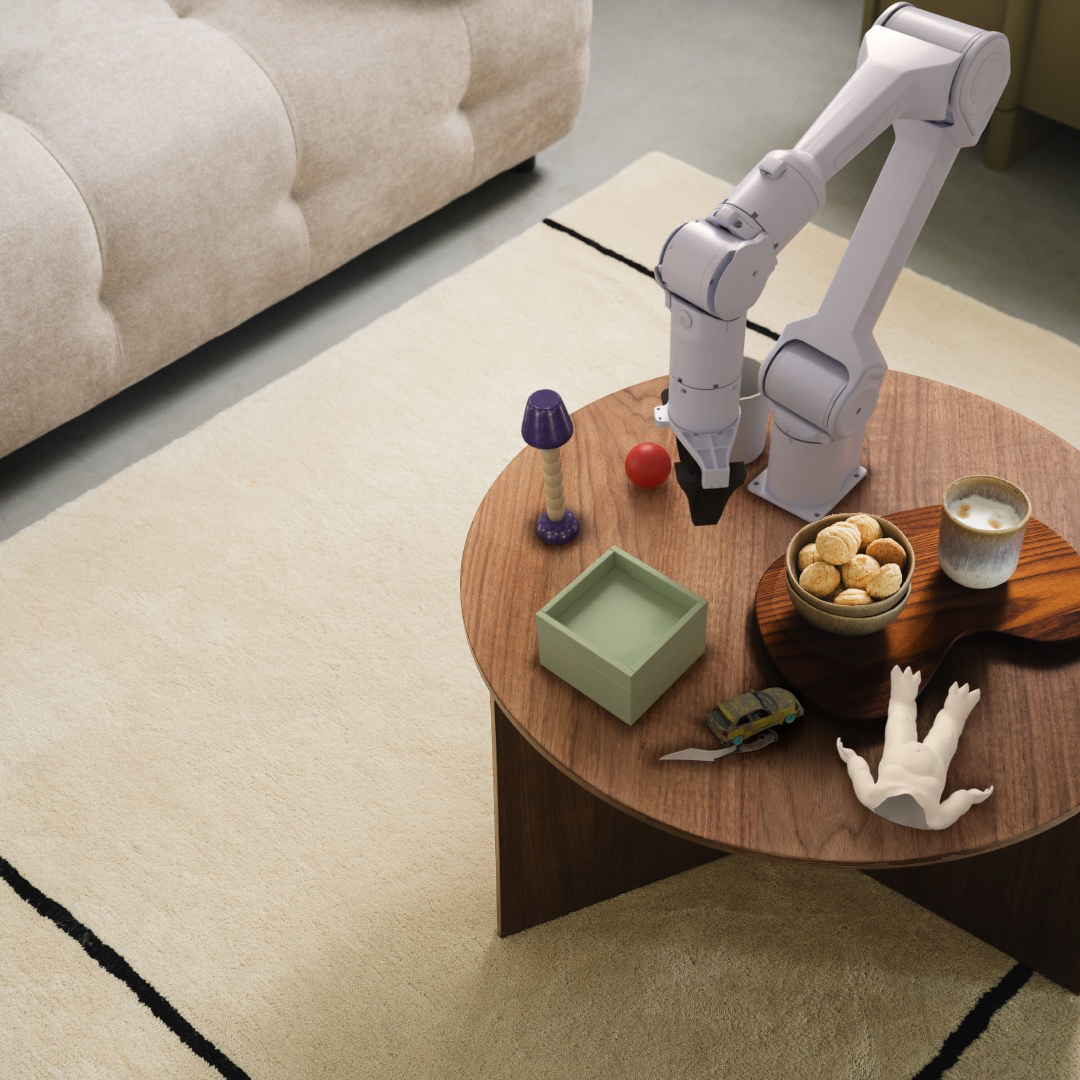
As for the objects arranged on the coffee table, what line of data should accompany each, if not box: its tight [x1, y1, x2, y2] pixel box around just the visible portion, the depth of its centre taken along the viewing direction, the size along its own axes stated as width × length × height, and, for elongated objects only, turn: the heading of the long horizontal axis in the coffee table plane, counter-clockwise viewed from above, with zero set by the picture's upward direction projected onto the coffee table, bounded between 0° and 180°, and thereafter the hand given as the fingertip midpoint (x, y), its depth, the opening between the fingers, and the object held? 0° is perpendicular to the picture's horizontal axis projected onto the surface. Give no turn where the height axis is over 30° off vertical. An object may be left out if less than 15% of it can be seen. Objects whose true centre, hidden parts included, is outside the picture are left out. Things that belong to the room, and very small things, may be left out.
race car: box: [705, 687, 805, 748], centre depth 94 cm, size 4×8×2 cm, turn 114°
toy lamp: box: [520, 388, 581, 546], centre depth 105 cm, size 5×5×17 cm
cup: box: [729, 354, 770, 465], centre depth 116 cm, size 7×10×9 cm
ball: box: [624, 441, 672, 490], centre depth 113 cm, size 5×5×5 cm
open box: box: [534, 544, 709, 727], centre depth 98 cm, size 10×10×7 cm
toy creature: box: [836, 664, 995, 831], centre depth 89 cm, size 12×6×12 cm
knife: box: [658, 728, 779, 762], centre depth 93 cm, size 10×2×1 cm, turn 104°
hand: (698, 491), depth 100 cm, fingers open, 7 cm apart
